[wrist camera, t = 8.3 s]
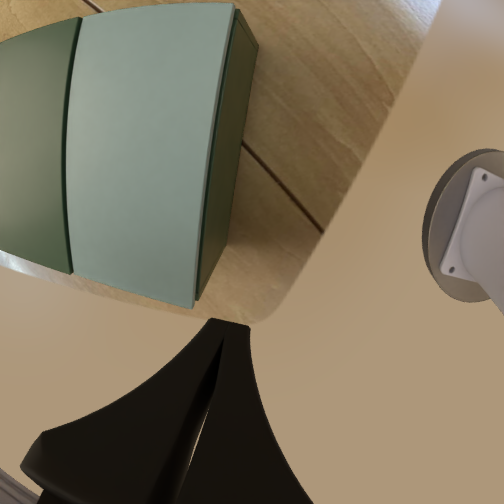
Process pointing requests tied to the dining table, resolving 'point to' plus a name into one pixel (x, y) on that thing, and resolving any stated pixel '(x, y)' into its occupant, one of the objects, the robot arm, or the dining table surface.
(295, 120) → the dining table surface
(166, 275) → the hatch
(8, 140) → the seed box
